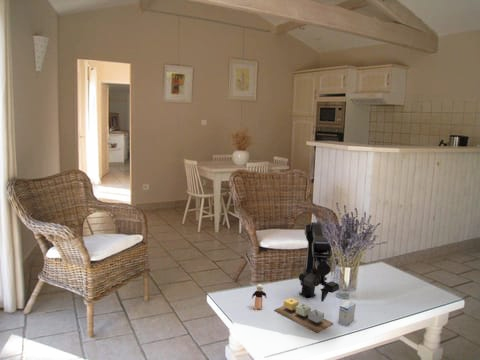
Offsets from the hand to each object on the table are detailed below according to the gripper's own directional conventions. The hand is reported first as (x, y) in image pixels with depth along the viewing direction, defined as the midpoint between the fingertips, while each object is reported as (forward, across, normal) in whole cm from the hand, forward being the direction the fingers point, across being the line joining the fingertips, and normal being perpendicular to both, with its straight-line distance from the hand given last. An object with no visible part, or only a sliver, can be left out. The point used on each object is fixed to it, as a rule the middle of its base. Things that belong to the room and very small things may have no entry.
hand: (317, 299), depth 184 cm
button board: (+12, -7, 0) cm, 14 cm away
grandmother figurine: (+12, -27, -10) cm, 31 cm away
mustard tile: (+10, -15, 0) cm, 18 cm away
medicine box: (+12, +8, +13) cm, 20 cm away
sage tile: (+10, -7, 0) cm, 12 cm away
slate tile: (+10, 0, 0) cm, 10 cm away
